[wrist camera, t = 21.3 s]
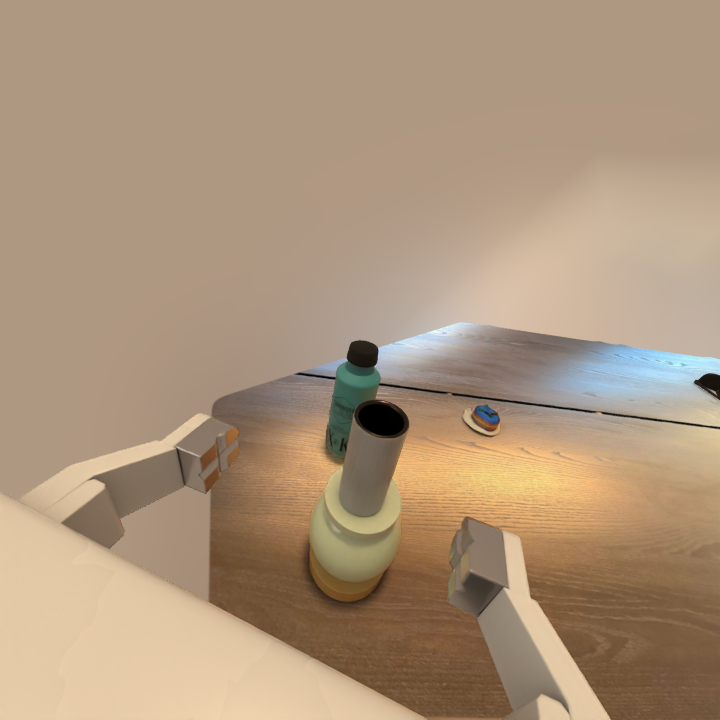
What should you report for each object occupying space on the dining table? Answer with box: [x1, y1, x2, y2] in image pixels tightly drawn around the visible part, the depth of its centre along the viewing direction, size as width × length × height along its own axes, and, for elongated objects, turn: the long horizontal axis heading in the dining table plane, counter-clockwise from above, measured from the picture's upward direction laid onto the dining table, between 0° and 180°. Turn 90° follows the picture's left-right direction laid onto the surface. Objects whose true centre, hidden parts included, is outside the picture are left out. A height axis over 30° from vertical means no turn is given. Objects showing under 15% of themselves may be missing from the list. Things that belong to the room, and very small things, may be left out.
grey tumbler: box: [339, 400, 409, 517], centre depth 26 cm, size 4×4×10 cm
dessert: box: [463, 405, 500, 436], centre depth 60 cm, size 8×7×6 cm
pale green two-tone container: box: [309, 467, 402, 602], centre depth 32 cm, size 10×10×12 cm
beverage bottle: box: [326, 340, 381, 458], centre depth 44 cm, size 6×7×20 cm
